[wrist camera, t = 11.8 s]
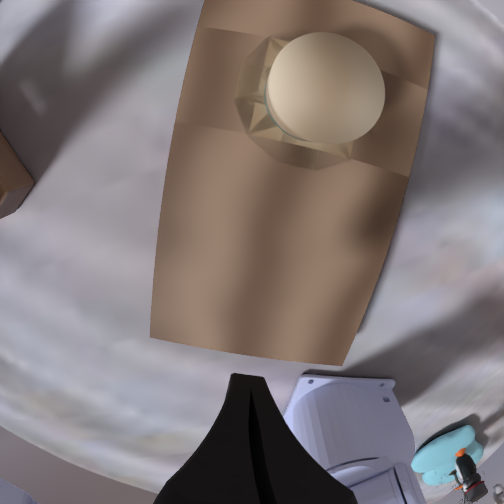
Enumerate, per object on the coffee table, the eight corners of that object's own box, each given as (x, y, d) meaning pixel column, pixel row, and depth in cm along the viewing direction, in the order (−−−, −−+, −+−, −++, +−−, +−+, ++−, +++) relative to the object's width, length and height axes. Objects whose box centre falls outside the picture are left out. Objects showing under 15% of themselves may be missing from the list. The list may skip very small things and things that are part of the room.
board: (417, 43, 16) (434, 35, 14) (334, 346, 25) (341, 365, 22) (217, -13, 15) (213, -30, 13) (157, 318, 23) (149, 337, 21)
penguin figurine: (400, 452, 32) (434, 546, 18) (469, 407, 30) (520, 493, 15) (431, 484, 37) (455, 548, 23) (482, 451, 35) (514, 512, 21)
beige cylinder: (350, 75, 18) (392, 54, 11) (334, 149, 19) (372, 157, 13) (271, 54, 17) (282, 19, 11) (254, 130, 19) (258, 127, 13)
